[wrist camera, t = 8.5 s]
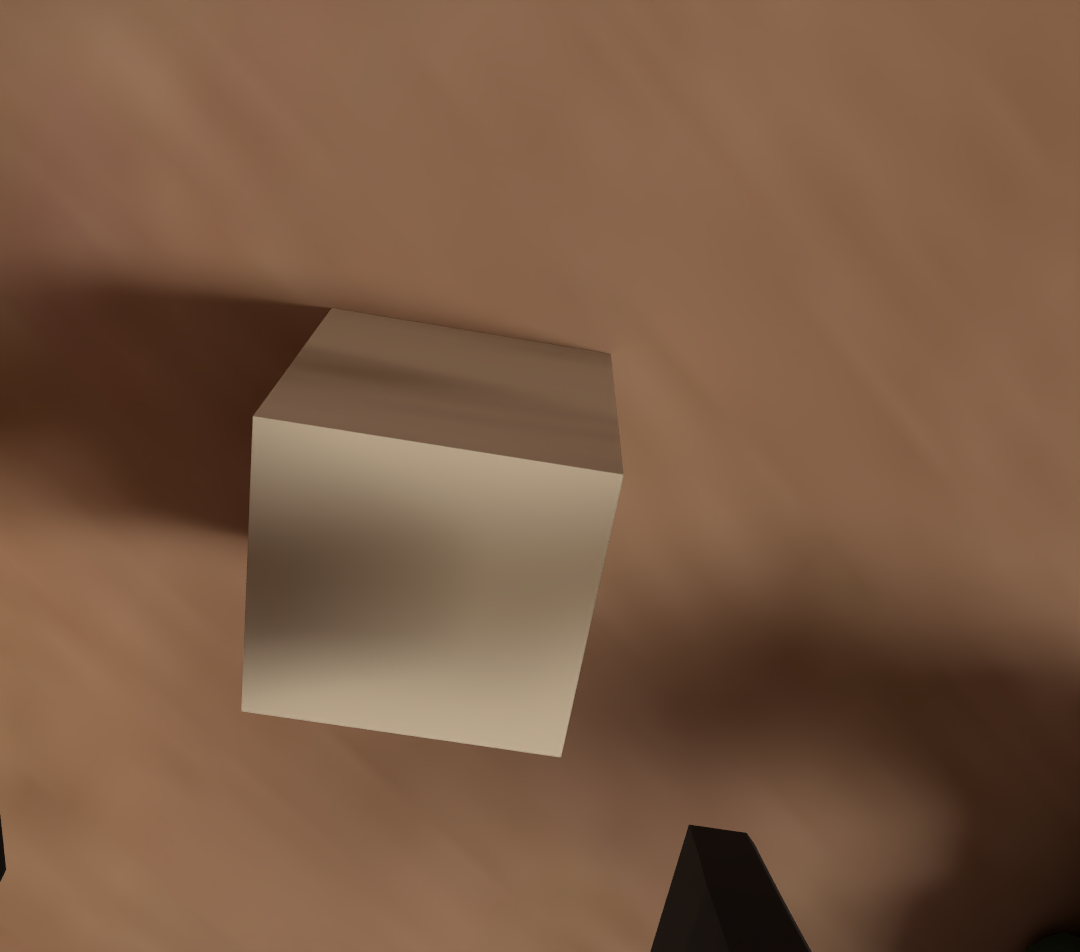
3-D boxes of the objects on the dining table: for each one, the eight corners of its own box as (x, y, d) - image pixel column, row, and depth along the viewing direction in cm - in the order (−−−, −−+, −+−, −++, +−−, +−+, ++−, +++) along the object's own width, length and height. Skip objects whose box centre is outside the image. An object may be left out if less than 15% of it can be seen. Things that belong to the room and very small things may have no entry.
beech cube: (562, 585, 20) (561, 757, 16) (314, 548, 20) (241, 711, 16) (610, 352, 18) (622, 474, 14) (332, 306, 18) (252, 415, 13)
